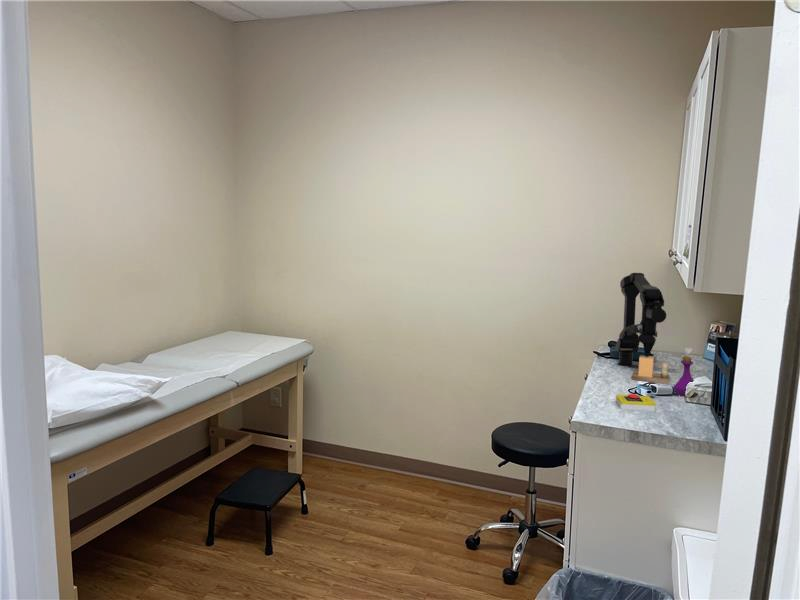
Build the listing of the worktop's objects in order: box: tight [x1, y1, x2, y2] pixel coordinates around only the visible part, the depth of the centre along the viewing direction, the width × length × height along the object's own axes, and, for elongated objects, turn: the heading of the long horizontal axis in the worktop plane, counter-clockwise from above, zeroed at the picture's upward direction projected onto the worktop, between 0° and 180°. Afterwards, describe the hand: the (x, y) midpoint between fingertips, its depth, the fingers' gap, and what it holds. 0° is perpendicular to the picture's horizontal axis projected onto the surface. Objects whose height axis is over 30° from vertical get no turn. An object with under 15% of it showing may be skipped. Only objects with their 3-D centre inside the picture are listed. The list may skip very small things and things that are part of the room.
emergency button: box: [611, 393, 663, 413], centre depth 198 cm, size 9×4×15 cm
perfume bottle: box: [672, 347, 695, 397], centre depth 211 cm, size 8×8×18 cm
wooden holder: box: [630, 361, 671, 385], centre depth 235 cm, size 10×14×8 cm
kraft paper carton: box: [637, 354, 655, 377], centre depth 236 cm, size 5×5×8 cm
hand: (646, 356), depth 236 cm, fingers closed
